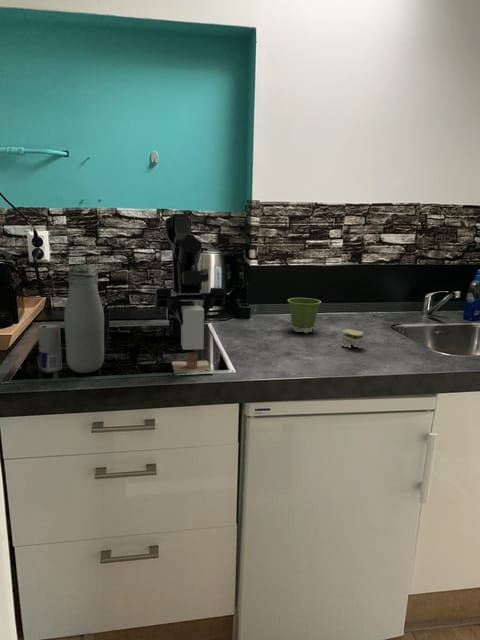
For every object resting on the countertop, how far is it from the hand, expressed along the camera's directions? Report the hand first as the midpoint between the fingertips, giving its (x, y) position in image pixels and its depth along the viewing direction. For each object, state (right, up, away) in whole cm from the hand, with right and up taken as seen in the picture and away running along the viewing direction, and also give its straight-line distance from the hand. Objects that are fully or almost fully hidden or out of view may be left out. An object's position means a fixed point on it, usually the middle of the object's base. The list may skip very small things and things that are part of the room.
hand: (193, 324), depth 137 cm
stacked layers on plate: (+49, -8, +30) cm, 58 cm away
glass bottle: (-28, -13, 0) cm, 31 cm away
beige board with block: (-1, -12, +4) cm, 13 cm away
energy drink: (-38, -12, +1) cm, 40 cm away
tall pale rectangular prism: (0, -6, +3) cm, 7 cm away
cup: (-30, -8, +19) cm, 37 cm away
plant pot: (+35, -3, +48) cm, 60 cm away
